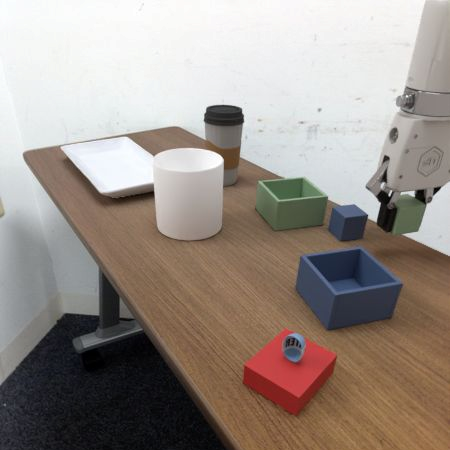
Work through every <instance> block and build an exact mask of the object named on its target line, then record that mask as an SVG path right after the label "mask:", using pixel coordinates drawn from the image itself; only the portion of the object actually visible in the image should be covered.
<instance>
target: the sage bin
mask: <svg viewBox="0 0 450 450" xmlns="http://www.w3.org/2000/svg"><path fill="white" fill-rule="evenodd" d="M328 200H329V195H327V194H326V193H325V192H324V191H322V190H321V189H320V188H319V187H317V186H316V185H315V184H314V183H313V182H312V181H311V180H309V179H307V177H305V176H299V177H297V176H296V177H288V178H286V177H285V178H276V179H275V178H274V179H264V180H257V187H256V199H255V210H256V211H257V212H258V213H259V215H261V216H262V217H263V219H264V220H265V221H266V223H267V224H268V225H269V226H270V227H271V228H272V229H273V231H274V232H278V231H285V230H293V229H302V228H308V227H317V226H324V222H325V217H326V211H327V205H328V202H329V201H328Z"/></svg>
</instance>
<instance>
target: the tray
mask: <svg viewBox="0 0 450 450" xmlns="http://www.w3.org/2000/svg"><path fill="white" fill-rule="evenodd" d="M60 150H61V151H62V152H63V153H64V154H65V155H66V157H67V158H68V159H69V160H70V161H71V163H72V164H73V165H74V166H75V167H76V168H77V169H78V170H79V171H80V172H81V173H82V174H83V176H85V177H86V179H87V180H88V181H89V183H91V184H92V185H93V187H94V188H95V189H96V190H97V192H98V193H99V194H101V195H102V196H104V197H110V198H111V197H114V198H116V197H122V196H128V197H130V196H129V195H133V196H136V195H135V194H138V195H141V193H142V194H147V193H152V192H154V179H153V166H152V159H153V157H154V156H155V155H153V154H151V153H150V152H149V151H147V150H146V149H144V148H143V147H141V145H139V144H138V143H137V142H135V141H134V140H132V139H131V138H130V137H129V136H119V137H111V138H105V139H104V138H103V139H97V140H89V141H84V142H78V143H72V144H71V143H70V144H66V145H62V146H60Z"/></svg>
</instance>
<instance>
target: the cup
mask: <svg viewBox="0 0 450 450" xmlns="http://www.w3.org/2000/svg"><path fill="white" fill-rule="evenodd" d="M153 156H154V157H153V159H152V166H153V179H154V191H153V192H154V203H155V217H156V218H155V220H156V227H157V230H158V231H159V232H160V233H161V234H162V235H164V236H166V237H168V238H170V239H174V240H177V241H189V242H191V241H201V240H206V239H209V238H212V237H213V236H215V235H217V234H218V233H219V232H220V231H221V230H222V227H223V207H224V206H223V205H224V204H223V203H224V202H223V201H224V186H223V171H224V160H223V158H222V157H221V156H220V155H219V154H217V153H215V152H212V151H209V150H206V149H203V148H195V147H180V148H179V147H177V148H172V149H171V148H170V149H166V150H163V151H161V152H158V153H156V154H155V155H153Z"/></svg>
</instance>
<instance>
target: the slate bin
mask: <svg viewBox="0 0 450 450" xmlns="http://www.w3.org/2000/svg"><path fill="white" fill-rule="evenodd" d="M403 286H404V283H403V282H402V281H401V280H400V279H399V278H398V277H397V276H396V275H395V274H394V273H392V272H391V271H390V269H388V268H387V267H386V266H385V265H383V264H382V263H381V262H380V261H379V260H378V259H377V258H376V257H374V256H373V255H372V254H371V252H369V251H368V250H367V249H365V247H363V246H355V247H354V246H353V247H347V248H341V249H340V248H339V249H334V250H333V249H332V250H328V251H327V250H326V251H321V252H319V251H318V252H311V253H307V254H300V256H299V261H298V267H297V275H296V282H295V290H296V291H297V293H298V294H299V295H300V297H301V298H302V299H303V300H304V302H305V303H306V305H307V306H308V307H309V309H310V310H311V311H312V312H313V313H314V315H315V316H316V318H317V319H318V321H320V322H321V324H322V325H323V327H324V328H325V329H326V331H330V330H335V329H341V328H346V327H351V326H356V325H361V324H367V323H372V322H377V321H382V320H386V319H392V317H393V315H394V313H395V310H396V306H397V304H398V301H399V297H400V294H401V292H402V290H403V289H402V288H403Z"/></svg>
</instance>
